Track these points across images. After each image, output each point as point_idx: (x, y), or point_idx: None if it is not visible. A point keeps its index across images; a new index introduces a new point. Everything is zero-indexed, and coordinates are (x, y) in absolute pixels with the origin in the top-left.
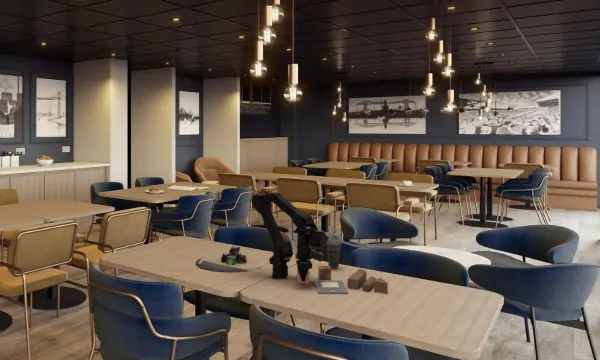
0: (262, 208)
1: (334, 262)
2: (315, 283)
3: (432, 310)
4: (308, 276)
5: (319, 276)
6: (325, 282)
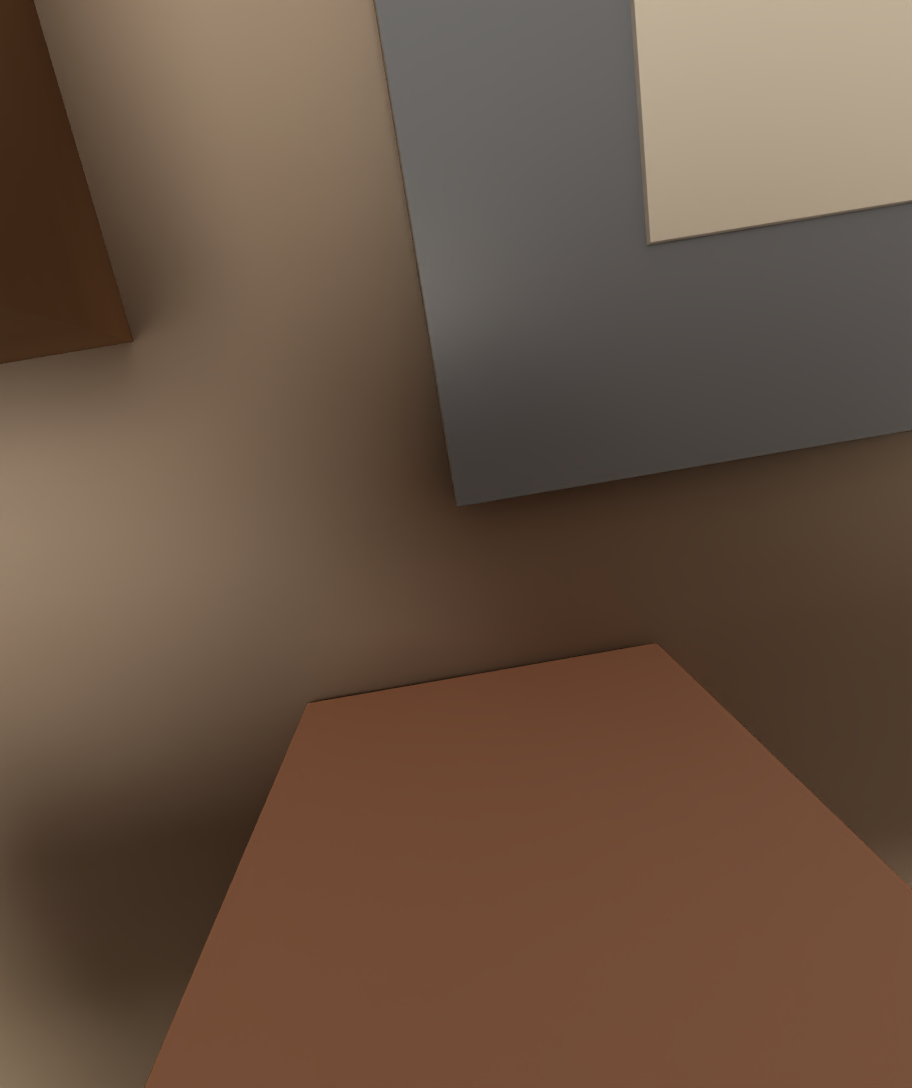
0: None
1: None
2: (793, 447)
3: None
4: (811, 834)
5: (15, 326)
6: (682, 22)
